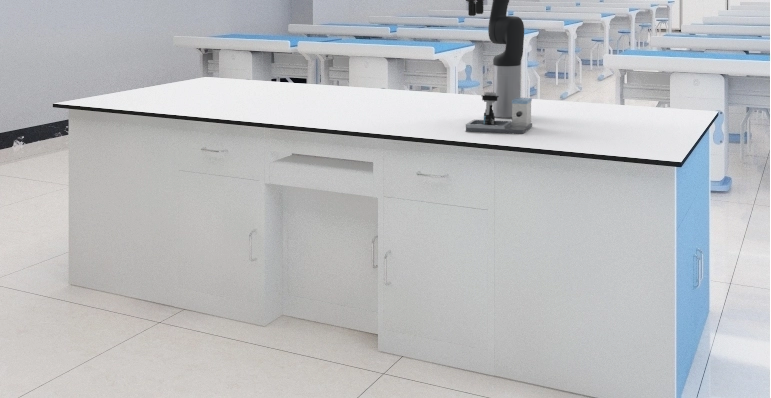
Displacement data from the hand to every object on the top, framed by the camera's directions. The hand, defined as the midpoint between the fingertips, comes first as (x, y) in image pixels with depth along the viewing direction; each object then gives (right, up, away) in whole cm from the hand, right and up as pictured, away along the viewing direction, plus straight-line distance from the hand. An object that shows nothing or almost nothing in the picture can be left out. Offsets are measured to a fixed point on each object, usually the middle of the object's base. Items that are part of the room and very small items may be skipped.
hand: (476, 14), depth 285 cm
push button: (+4, -33, +5) cm, 34 cm away
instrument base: (+8, -35, +6) cm, 36 cm away
